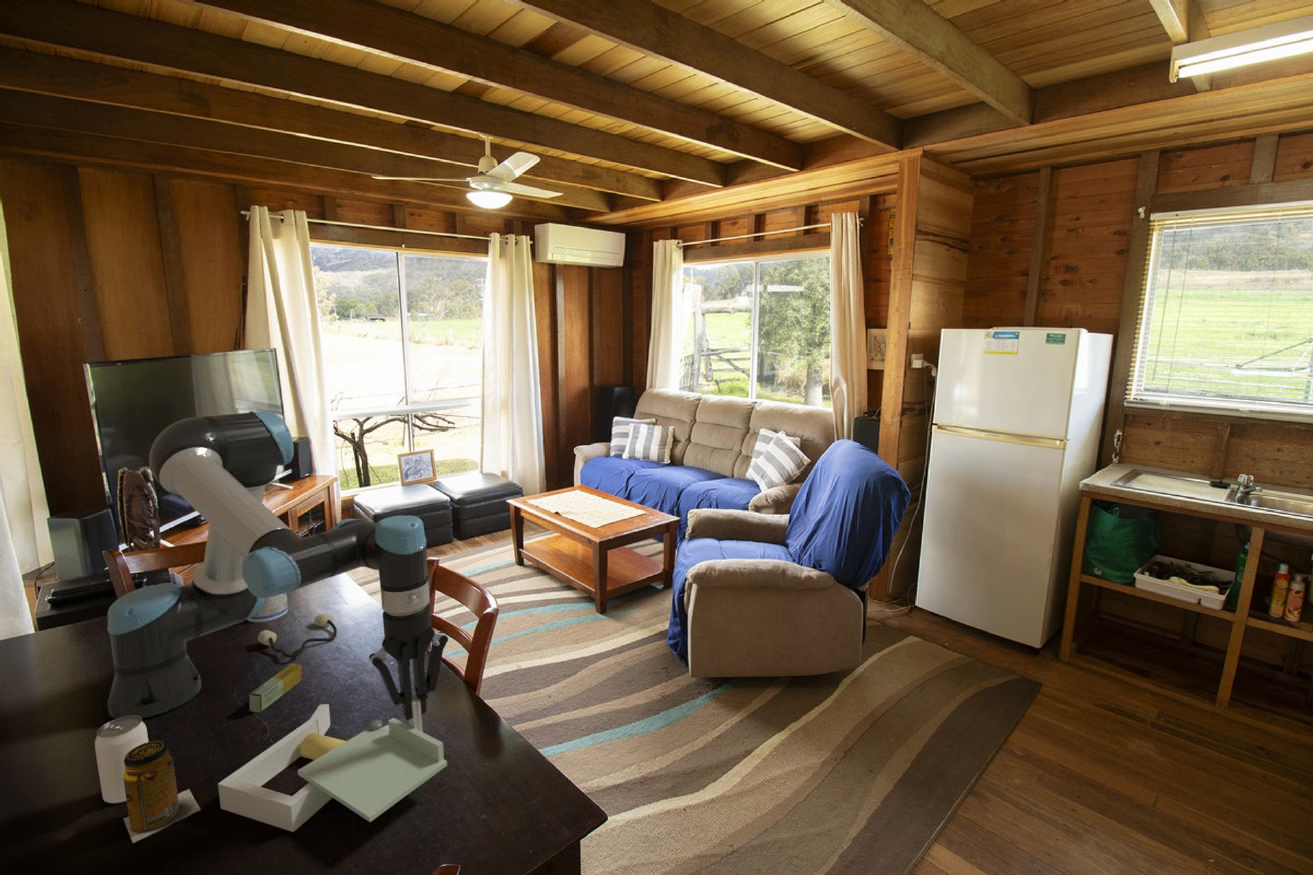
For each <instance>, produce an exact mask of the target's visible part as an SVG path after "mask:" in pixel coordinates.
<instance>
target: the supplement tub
mask: <svg viewBox="0 0 1313 875" xmlns="http://www.w3.org/2000/svg"><path fill="white" fill-rule="evenodd" d="M288 609H289V607H288V593H286V594H280V595H277V596H273V597H270V598H265V600H264V603H263V606H262V608H261V610H260V611H259V612H258V613H257V614H256V615H254V616H253V617H251V618H248V619H246V620H247V621H248V622H251V623H263V622H269V621H273V620H276V619H278V618H280V617H282V616H284V615H285V614H287V612H288V611H289V610H288Z"/></svg>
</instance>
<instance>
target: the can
mask: <svg viewBox="0 0 1313 875" xmlns="http://www.w3.org/2000/svg"><path fill="white" fill-rule="evenodd" d="M96 735H97V736H96V738H95V740H94V748H95V749H94V750H95V756H96V763H97V769H98V776H99V783H100V789H101V793H102V794H101V795H102V799H103V801H104V802H106V803H108V804H121V803H127V800H126V794H125V786H124V780H123V775H124V772H125V763H124V759H125V756H126V755H127V753H128V752H129V751H131V750H132V749H134V748H135V747H137V746H139V745H142V744H144V743H147V742H149V738H148V735H149V734H148V730H147V726H146V724H145V722H143V718H141V717H140V716H136V715H132V716H125V717H121V718H118V719H115V718H114V719H113V720H110V721H108V722H107V723H104V724H103V725H102V726H100V727H99V728H98V730H97V731H96Z"/></svg>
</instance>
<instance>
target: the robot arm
mask: <svg viewBox="0 0 1313 875" xmlns="http://www.w3.org/2000/svg"><path fill="white" fill-rule="evenodd" d="M294 448H295V447H294V441H293V437H292V435H291V431H290V429H289V427H288V426H287V424H286V422H285V420H284V419H282V417H281V416H280V415H278V414H277V413H274V412H273V411H266V410H265V411H254V410H252V411H248V412H241V413H229V414H218V415H217V414H216V415H207V416H195V417H194V416H193V417H192V416H191V417H186V418H183V419H180V420H178V421H175V422H174V423H171V424H170V425H169V426H167V427H166V428H164V429H163V430H162V431H161V432H160V433H159V434H158V435H157V436H156V438H155V440H154V442H152V445H151V447H150V450H149V451H150V452H149V454H148V457H149V458H148V460H149V461H148V465H149V467H150V469H149V470H150V472H151V474H152V476H153V477H154V479H155V480H156V482H157V483H158V484H159V485H160V486H161V487H162V488H163V489H164V490H165V491H167V492H168V493H171V494H173V495H176V496H177V495H178V496H181V497H182V498H183V499H184V500H185V501H186V502H187V503H188V504H189V506H191V507H192V508H193V509H194V510H195V511H196V512H197V513H198V514H199V515H200V516H201V517H202V518H203V519H204V520H205V521H206V522H207V523H208V524H209V525H208V532H207V538H206V546H205V552H204V559H203V563H202V564H201V565H199V566H198V567H197V568H196V569H195V571H194V573H193V576H192V581H191V583H189V584H185V585H182V586H178V584H176V583H172V582H163V583H158V584H156V585H155V584H151V585H148V586H147V585H146V586H144V587H141V588H137V589H135V590H133V591H131V592H127V593H126V594H124V595H123V596H121V597H119V598H118V599H116V600H115V602H113V603H112V604H111V605H110V606H109V608H108V610H107V627H106V628H107V629H106V630H107V632H108V633H109V639H110V647H111V648H110V649H111V653H112V660H113V667H114V677H113V679H112V680H113V681H112V685H111V688H110V691H109V692H110V693H109V696H108V699H107V709H108V710H107V711H108V714H109V716H110V717H111V718H113V719H114V720H115V719H118V718H121V717H125V716H132V715H136V716H140V717H141V718H142V719H145V718H150V717H154V716H157V715H161V714H163V713H166V712H169V711H171V710H174V709H176V708H178V707H180V706H182V705H184V704H185V703H187V702H189V701H190V700H192V699H193V698H195V696H197V694H199V692H200V691H201V688H202V680H201V675H200V673H199V671H198V670H197V668H196V666H194V664H193V662H192V660H191V659H190V657H189V655H188V652H187V650H188V649H187V642H188V641H190V640H191V641H192V640H194V639H196V638H199V637H202V636H205V635H208V634H212V633H214V632H217V631H220V630H222V629H225V628H228V627H231V626H234V625H237V624H240V623H243V622H244V621H246V620H247V619H248V618H251V617H253V616H254V615H256V614H257V613H258V612H259V611H260V610H261V608H262V606H263V603H264V600H265V598H270V597H273V596H277V595H280V594H286V593H287V594H288V593H292V592H294V591H296V590H299V589H302V588H304V587H306V586H310V585H313V584H315V583H317V582H321V581H323V580H326V579H328V578H333V577H335V576H339V575H341V574H344V573H348V572H350V571H354V570H355V569H359V568H364V567H365V568H367V569H370V570H376V571H378V576H379V577H378V578H379V585H380V586H379V587H380V598H381V599H380V600H381V609H382V610H383V612H382V624H383V633H384V636H383V640H382V643H381V648H380V649H379V650H378V651H377V652H376V653H375V652H374V653H371V654H369V657H368V659H369V660H370V663H371V664H372V665H373V667H375V668H376V669H377V670H378V673H379V675H380V677H381V680H382V682H383V684H384V687H385V689H386V691H387V694H388V696H389V697H388V698H390V700H391V701H392V704H394V705H395V706H398V705H400V704H401V707H402V715H403V717H404V718H405V719H406V721H409V726H411V727H413V728H415V729H417V730H419V731H421V732H423V733H424V730H423V721H422V719H423V718H422V716H423V715H424V714H426V713H427V699H428V698H429V695H428V694H429V693H430V692H434V691H436V689H437V686H438V681H439V673H440V667H441V664H442V663H441V662H442V659H443V652H444V649H445V647H446V645H447V643H448V641H449V637H448V636H447V635H446V634H445V633H444V632H443V631H438V632H437V631H435V628H434V627H433V626H432V616H431V615H432V614H431V605H430V601H431V600H430V589H429V576H428V572H429V571H428V559H427V558H428V556H427V538H426V534H425V528H424V527H425V526H424V522H423V520H422V519H421V518H420V517H418V516H416V515H411V514H409V515H394V516H389V517H386V518H383V519H381V520H379V521H378V522H373V521H370V520H367V519H362V518H345V519H343V520H340V521H339V522H337V523H336V524H335V525H333V526H332V527H331V529H330V530H327V531H324V532H320V533H316V534H313V535H308V536H304V537H300V535H298V534H297V533H295V532H294V531H293V530H292V529H291V528H290V527H289V526H288V525H286V524H285V523H284V522H283V520H281V519H280V518H279V517H278V516H277V515H276V514H275V513H273V512H272V511H271V510H270V509H269V508H268V507H267V506H266V505H265V504H264V503H263V500H264V493H265V488H266V487H267V486H268V485H270V484H271V483H272V482H273V481H274V480H275V479H276V476H277V470H278V467H279V466H283V467H284V466H286V465H287V464H289V463H291V462H292V460H293V457H294V455H295V453H294V452H295V450H294ZM430 644H431V647H430V652H429V656H428V657H429V658H428V662H427V669H425V662H426V658H425V657H426V654H425V653H426V651H427V650H428V648H429V646H430ZM387 654H388V655H389V656H391V658H393V659H394V660H396V663H397V670H398V672H397V673H398V681H399V682H398V683H399V691H398V688H397V686H396V683H395V681H394V679H393V676H392V674H391V672H390V669H389V667H388V665H387V664H386V663H387V661H388V657H387ZM411 660H412V672H413V687H414V692H415V693H413V690H412V680H411V669H410V667H411Z"/></svg>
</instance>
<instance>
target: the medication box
mask: <svg viewBox="0 0 1313 875" xmlns="http://www.w3.org/2000/svg"><path fill="white" fill-rule="evenodd" d="M302 674H303V673H302V664H298V663H290V664H289V665H287V666H286V667H285V668H283V669H282V670H280V671H278V673H277V674H275V675H274V676H272V677H271V678H270V679H268V680H267V681H265V682H264V683H263V684H261V685H260V686H259V687H257V688H255V690H253V691H252V692H250V693H248V696H249V700H248V703H249V705H248V706H249V707H248V710H249V712H251V713H261V712H263V711H264V710H265V709H267V708H268V707H269V706H270V705H271V704H273V703H274V702H276V701H277V700H278V699H279V698H281V697H282V696H283V695H285V694H286V693H287V692H288V691H290V690H291V689H292V688H293V687H295V685H297V684H299V683H300V682H301V681H302Z"/></svg>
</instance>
